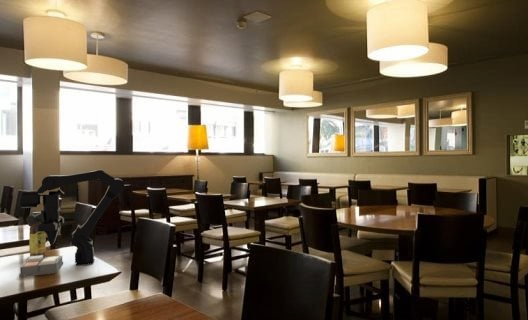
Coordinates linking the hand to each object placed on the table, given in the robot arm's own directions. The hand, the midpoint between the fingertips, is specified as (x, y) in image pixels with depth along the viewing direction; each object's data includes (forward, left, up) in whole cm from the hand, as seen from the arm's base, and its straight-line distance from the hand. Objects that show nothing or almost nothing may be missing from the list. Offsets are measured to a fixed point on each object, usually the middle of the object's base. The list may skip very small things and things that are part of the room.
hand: (51, 244), depth 150 cm
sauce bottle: (+10, -21, -9) cm, 25 cm away
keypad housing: (+3, +3, -9) cm, 10 cm away
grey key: (+6, 0, -7) cm, 9 cm away
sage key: (0, 0, -7) cm, 8 cm away
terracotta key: (+6, +6, -8) cm, 11 cm away
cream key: (0, +6, -7) cm, 9 cm away
